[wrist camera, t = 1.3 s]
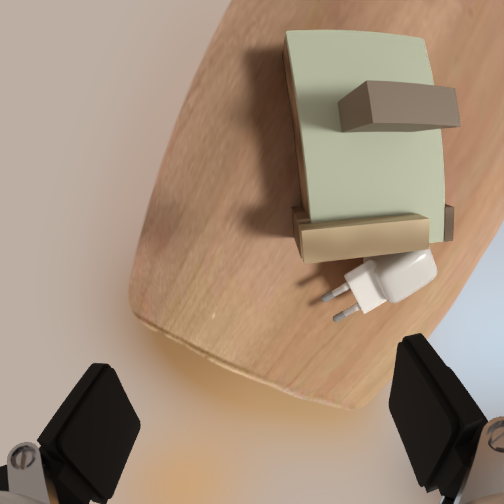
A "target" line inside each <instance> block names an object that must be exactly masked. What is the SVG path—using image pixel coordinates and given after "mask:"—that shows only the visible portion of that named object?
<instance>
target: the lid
mask: <svg viewBox="0 0 504 504" xmlns="http://www.w3.org/2000/svg"><path fill="white" fill-rule="evenodd" d="M285 37H286V43H287V48H288V54H289V60H290V66H291V72H292V78H293V84H294V91H295V98H296V105H297V112H298V119H299V127H300V135H301V143H302V151H303V160H304V169H305V178H306V188H307V198H308V209H309V217H310V218H311V223H319V222H329V221H340V220H351V219H361V218H373V217H384V216H396V215H408V214H420V215H422V216H425V217H427V218H429V219H430V224H429V243H434V242H442V241H444V225H445V183H444V162H443V148H442V137H441V129H442V128H452V127H461V125H460V117H459V110H458V103H457V97H456V91H455V88H449V87H442V86H435V85H434V82H433V77H432V72H431V67H430V63H429V58H428V54H427V50H426V46H425V42H424V39H423V38H417V37H411V36H404V35H397V34H389V33H379V32H367V31H351V30H295V31H286V34H285Z"/></svg>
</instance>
